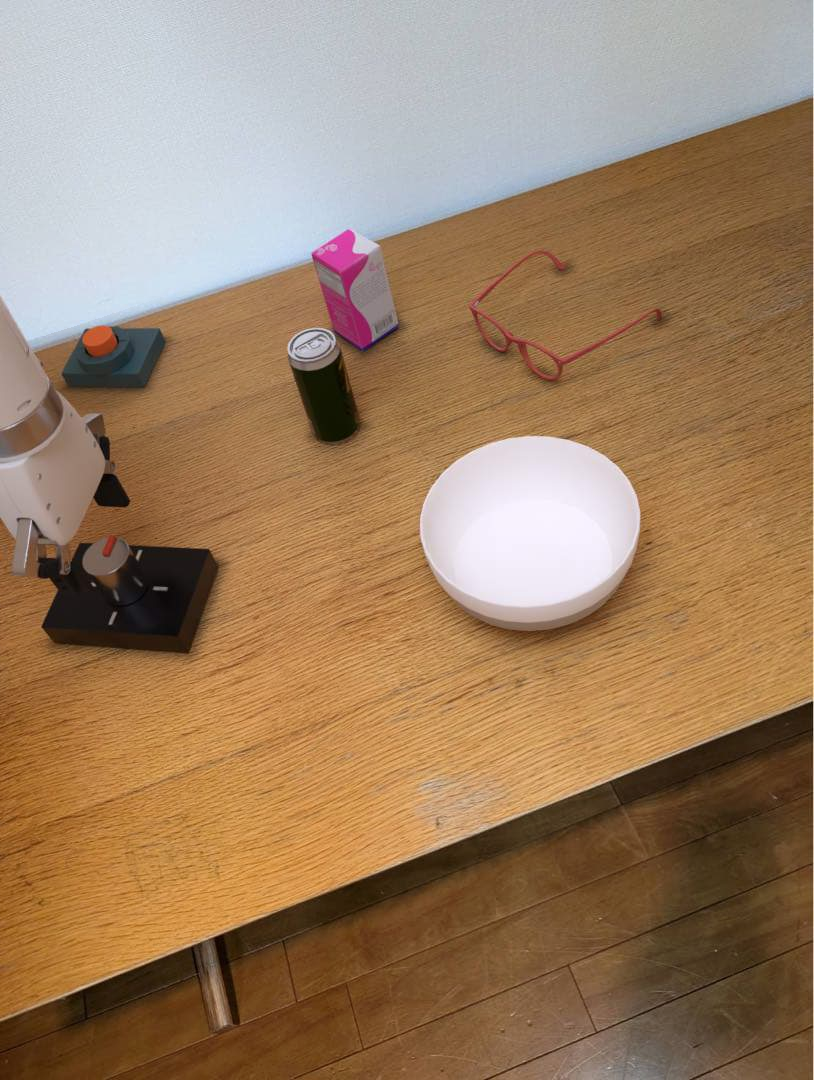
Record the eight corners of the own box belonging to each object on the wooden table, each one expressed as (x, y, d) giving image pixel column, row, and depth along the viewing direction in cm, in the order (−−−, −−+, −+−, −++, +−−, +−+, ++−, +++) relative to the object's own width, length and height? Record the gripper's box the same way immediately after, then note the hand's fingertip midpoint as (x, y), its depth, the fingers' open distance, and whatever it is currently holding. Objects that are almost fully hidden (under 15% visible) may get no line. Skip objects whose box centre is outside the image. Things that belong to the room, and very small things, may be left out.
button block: (67, 388, 119) (53, 363, 116) (92, 341, 123) (79, 316, 120) (143, 389, 116) (131, 363, 113) (165, 341, 121) (154, 316, 118)
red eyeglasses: (458, 334, 114) (453, 299, 110) (556, 263, 119) (554, 228, 115) (570, 403, 104) (569, 367, 100) (671, 323, 109) (673, 287, 105)
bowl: (483, 476, 100) (475, 415, 93) (666, 527, 92) (671, 465, 86) (397, 622, 91) (380, 567, 84) (593, 693, 83) (592, 638, 76)
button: (83, 357, 116) (77, 346, 115) (94, 336, 118) (88, 325, 117) (111, 357, 115) (105, 345, 114) (122, 336, 117) (116, 325, 116)
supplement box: (369, 306, 119) (350, 225, 110) (400, 327, 116) (383, 245, 107) (331, 331, 117) (309, 251, 108) (362, 353, 114) (341, 272, 105)
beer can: (324, 454, 105) (296, 370, 96) (305, 424, 109) (277, 340, 99) (369, 433, 106) (346, 348, 97) (349, 404, 109) (325, 319, 100)
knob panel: (54, 643, 95) (39, 625, 93) (91, 560, 101) (78, 541, 99) (188, 653, 92) (177, 635, 90) (218, 566, 98) (209, 547, 96)
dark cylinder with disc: (139, 607, 93) (118, 574, 88) (97, 605, 94) (73, 572, 89) (154, 569, 95) (134, 535, 91) (112, 567, 96) (90, 533, 92)
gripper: (12, 336, 82) (92, 472, 96) (-83, 498, 72) (22, 623, 86) (95, 338, 80) (164, 475, 94) (9, 503, 70) (101, 630, 84)
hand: (96, 546), depth 90 cm, fingers open, 9 cm apart
